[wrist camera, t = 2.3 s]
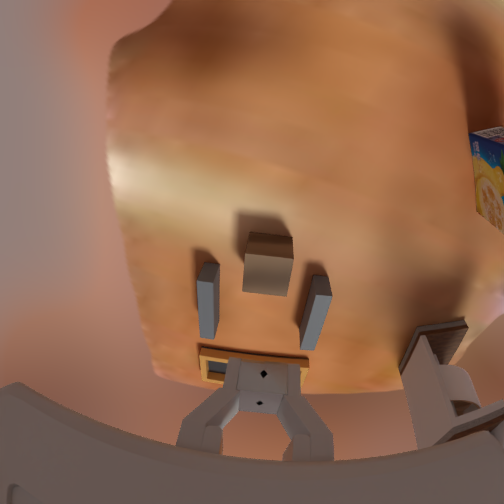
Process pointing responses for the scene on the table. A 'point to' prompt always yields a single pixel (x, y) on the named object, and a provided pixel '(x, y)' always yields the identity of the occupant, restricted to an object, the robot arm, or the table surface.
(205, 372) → the tray
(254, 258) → the walnut block
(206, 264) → the grey parallel walls
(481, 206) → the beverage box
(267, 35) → the table surface
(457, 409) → the grey toy tower
